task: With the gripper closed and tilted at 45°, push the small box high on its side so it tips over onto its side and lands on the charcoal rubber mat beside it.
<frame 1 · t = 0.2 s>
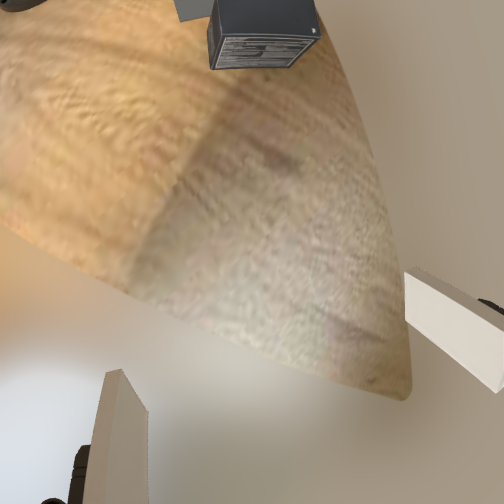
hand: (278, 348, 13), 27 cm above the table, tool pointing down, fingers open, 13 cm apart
small box: (248, 48, 35), on the table
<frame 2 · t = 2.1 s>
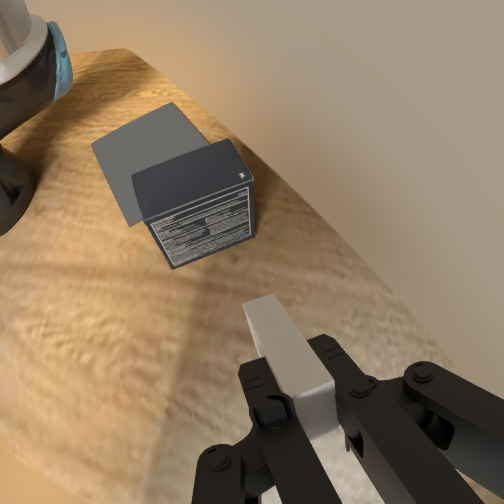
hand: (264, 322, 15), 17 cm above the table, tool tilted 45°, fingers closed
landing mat: (152, 154, 43), on the table
small box: (204, 232, 37), on the table
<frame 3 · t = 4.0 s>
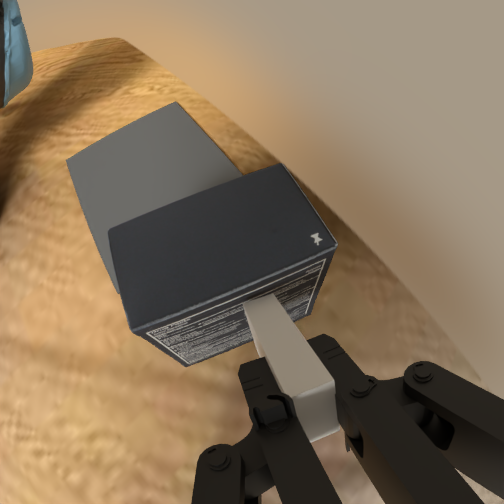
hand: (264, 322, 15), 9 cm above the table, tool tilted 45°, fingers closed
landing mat: (149, 177, 30), on the table
small box: (233, 306, 24), on the table, touching gripper
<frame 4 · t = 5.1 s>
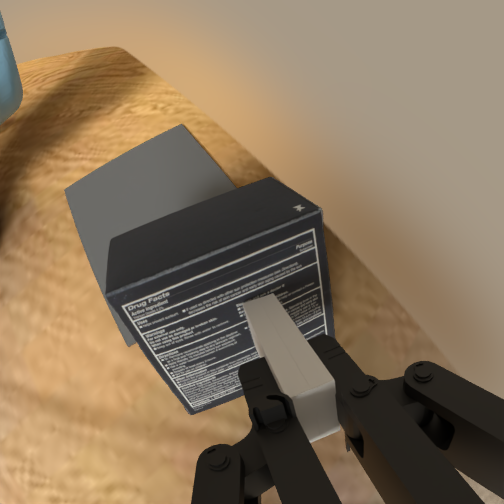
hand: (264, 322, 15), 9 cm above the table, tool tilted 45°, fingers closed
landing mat: (156, 214, 28), on the table
small box: (249, 355, 21), point 1 cm above the table, touching gripper
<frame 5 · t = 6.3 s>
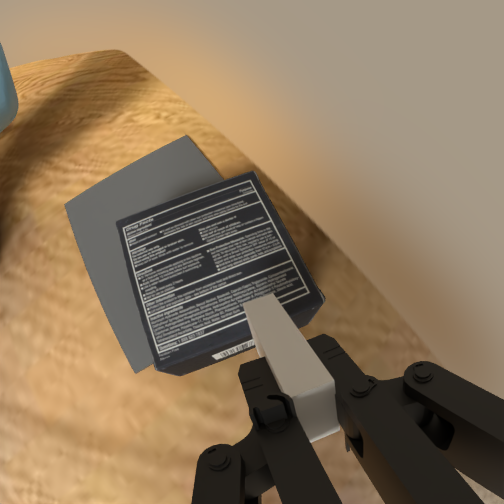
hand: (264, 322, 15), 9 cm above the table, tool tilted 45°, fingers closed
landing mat: (161, 233, 27), on the table
small box: (245, 350, 20), point 3 cm above the table, touching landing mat
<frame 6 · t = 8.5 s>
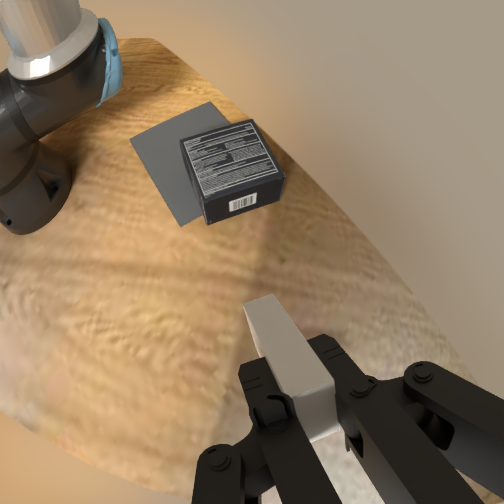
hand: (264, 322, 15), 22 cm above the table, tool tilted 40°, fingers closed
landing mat: (196, 155, 46), on the table
small box: (245, 203, 39), point 3 cm above the table, touching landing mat
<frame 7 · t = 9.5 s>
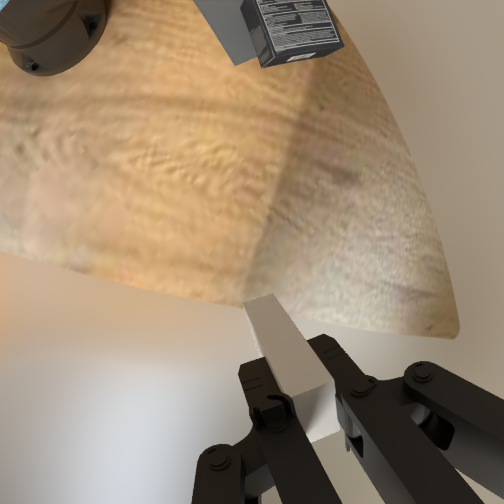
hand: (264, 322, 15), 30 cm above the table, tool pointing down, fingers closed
small box: (302, 58, 37), point 3 cm above the table, touching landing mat
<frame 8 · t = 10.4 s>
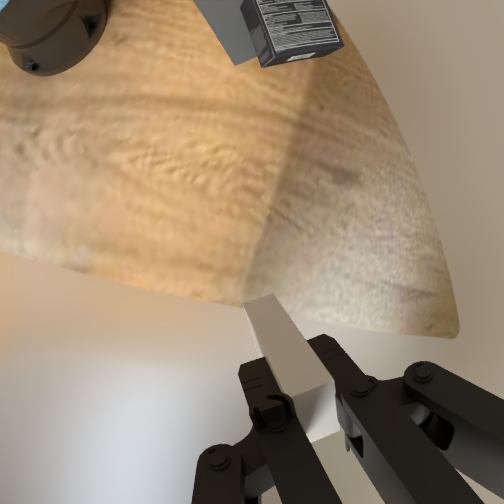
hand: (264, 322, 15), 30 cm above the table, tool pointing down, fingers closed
small box: (302, 58, 37), point 3 cm above the table, touching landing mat
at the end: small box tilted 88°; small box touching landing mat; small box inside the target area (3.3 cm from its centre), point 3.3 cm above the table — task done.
